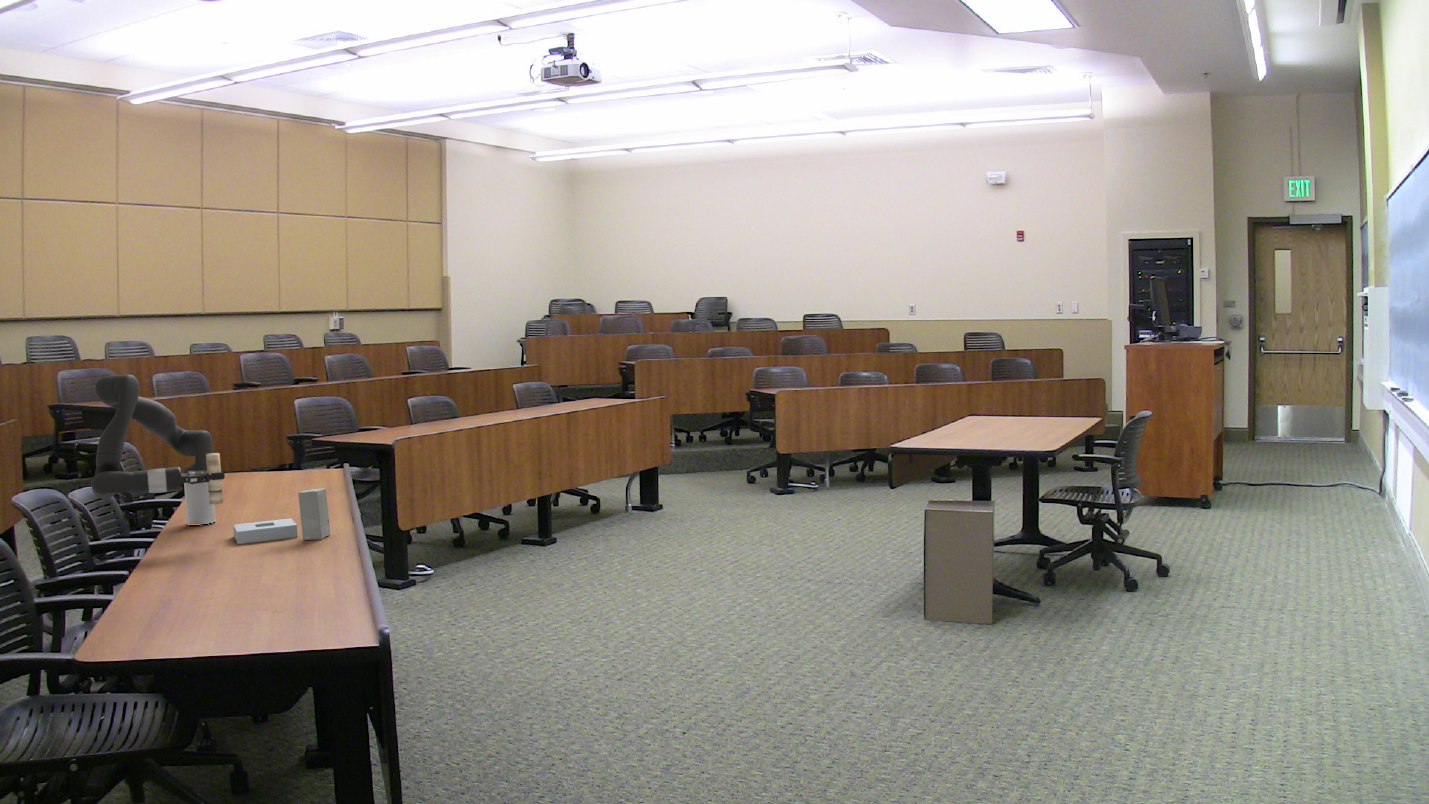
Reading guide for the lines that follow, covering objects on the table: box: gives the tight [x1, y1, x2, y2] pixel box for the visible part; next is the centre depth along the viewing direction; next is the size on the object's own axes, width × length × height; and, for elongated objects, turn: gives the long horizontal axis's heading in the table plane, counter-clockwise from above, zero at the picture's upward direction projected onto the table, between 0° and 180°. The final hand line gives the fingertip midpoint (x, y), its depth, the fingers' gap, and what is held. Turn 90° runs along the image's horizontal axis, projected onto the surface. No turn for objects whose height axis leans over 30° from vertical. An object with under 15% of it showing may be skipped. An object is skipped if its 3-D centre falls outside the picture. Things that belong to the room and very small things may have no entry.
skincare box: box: [297, 487, 331, 541], centre depth 350 cm, size 8×7×16 cm
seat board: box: [232, 517, 299, 545], centre depth 355 cm, size 14×18×4 cm
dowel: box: [206, 452, 224, 505], centre depth 346 cm, size 4×4×16 cm
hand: (223, 474), depth 348 cm, fingers closed on dowel, 4 cm apart
